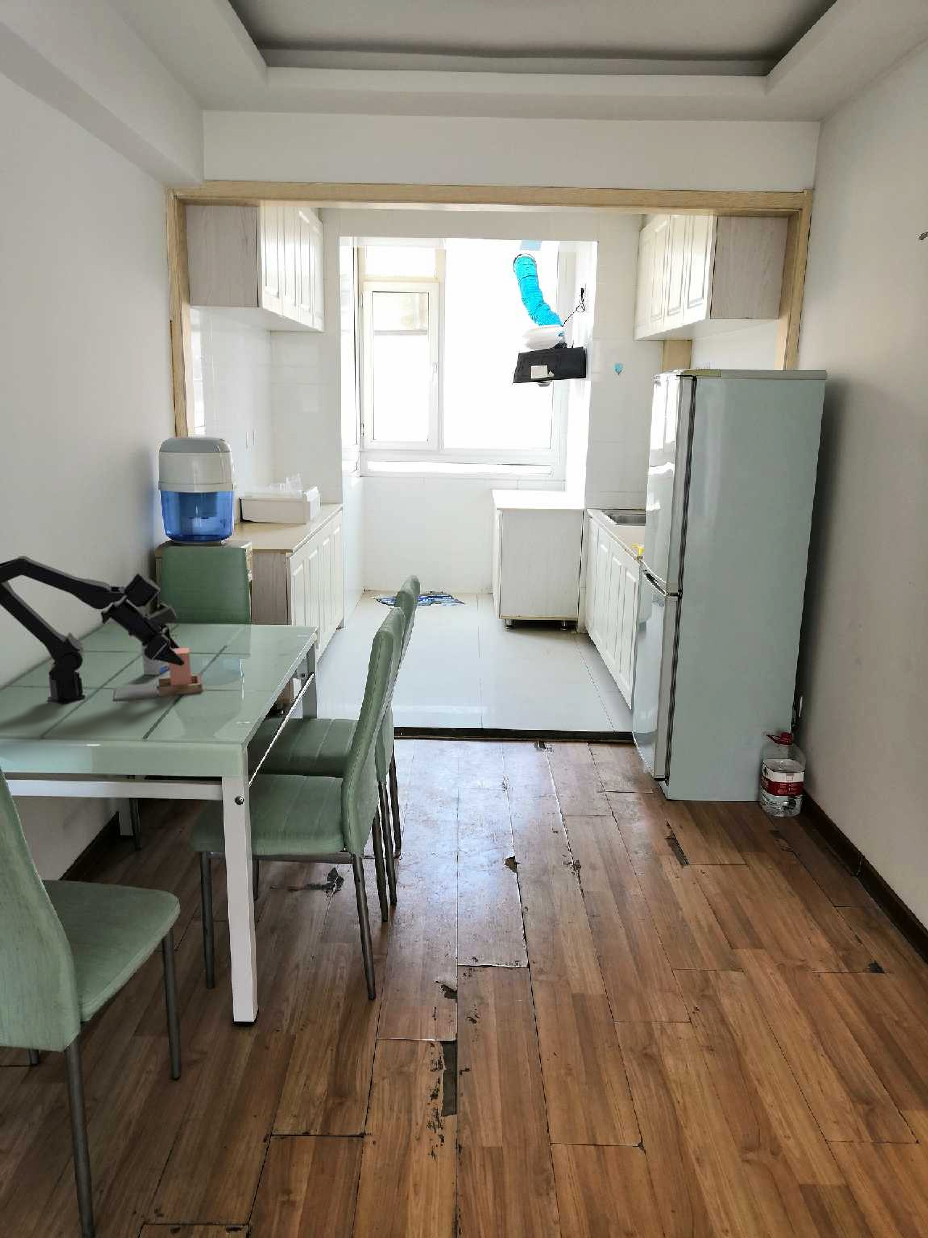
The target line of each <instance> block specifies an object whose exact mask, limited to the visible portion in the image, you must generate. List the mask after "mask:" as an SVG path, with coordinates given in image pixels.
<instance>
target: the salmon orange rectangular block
mask: <svg viewBox="0 0 928 1238" xmlns="http://www.w3.org/2000/svg"><path fill="white" fill-rule="evenodd" d="M173 650H174V651H175V653H176V654H177V655H178V656H179V657H180V658H181V659H182V660H183V661H184V664H183V665H182V666H180V665H176V664H172V663H169V667H170V669H169V674H170V675H169V677H170V679H171V685H170V686H176V685H187V684H193V683H192V681H191V675H192V672H191V671H192V670H191V668H192V667H191V659H190V657H191V656H190V647H180V648H177V649H173Z"/></svg>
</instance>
